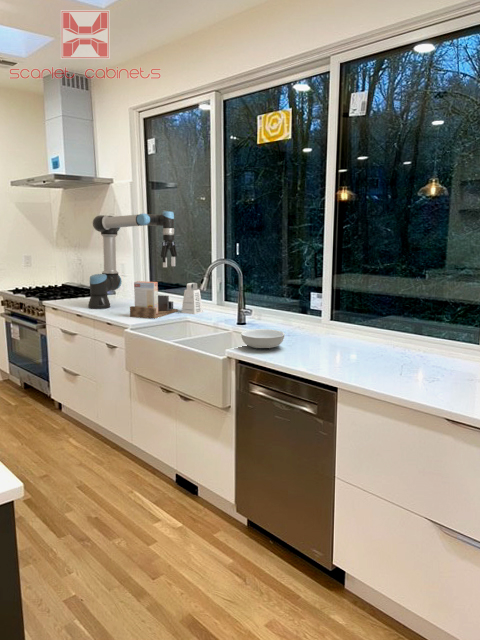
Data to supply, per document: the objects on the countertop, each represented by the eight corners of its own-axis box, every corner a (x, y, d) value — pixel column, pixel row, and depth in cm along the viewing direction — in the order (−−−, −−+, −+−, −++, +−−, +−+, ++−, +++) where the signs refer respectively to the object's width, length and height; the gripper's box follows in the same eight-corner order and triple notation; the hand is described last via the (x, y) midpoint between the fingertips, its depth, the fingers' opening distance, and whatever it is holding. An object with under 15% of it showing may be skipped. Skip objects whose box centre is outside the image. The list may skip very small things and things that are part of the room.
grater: (202, 312, 324) (202, 283, 321) (194, 314, 315) (194, 284, 311) (190, 310, 329) (190, 282, 325) (181, 312, 320) (181, 283, 316)
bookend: (149, 309, 321) (148, 294, 319) (156, 307, 330) (156, 293, 328) (167, 310, 316) (167, 296, 314) (174, 308, 325) (174, 294, 324)
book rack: (130, 316, 304) (129, 306, 302) (155, 309, 332) (154, 300, 331) (154, 318, 297) (154, 308, 296) (177, 311, 326) (177, 302, 325)
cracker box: (158, 313, 307) (158, 281, 303) (154, 315, 301) (153, 282, 297) (139, 312, 310) (138, 280, 306) (134, 314, 304) (133, 281, 301)
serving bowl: (269, 340, 242) (269, 327, 241) (292, 349, 224) (293, 335, 223) (233, 344, 232) (233, 330, 231) (254, 354, 214) (254, 339, 213)
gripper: (164, 234, 312) (165, 268, 316) (181, 234, 333) (181, 265, 337) (154, 234, 314) (155, 267, 318) (172, 234, 336) (172, 265, 340)
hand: (169, 266), depth 328 cm, fingers open, 11 cm apart
